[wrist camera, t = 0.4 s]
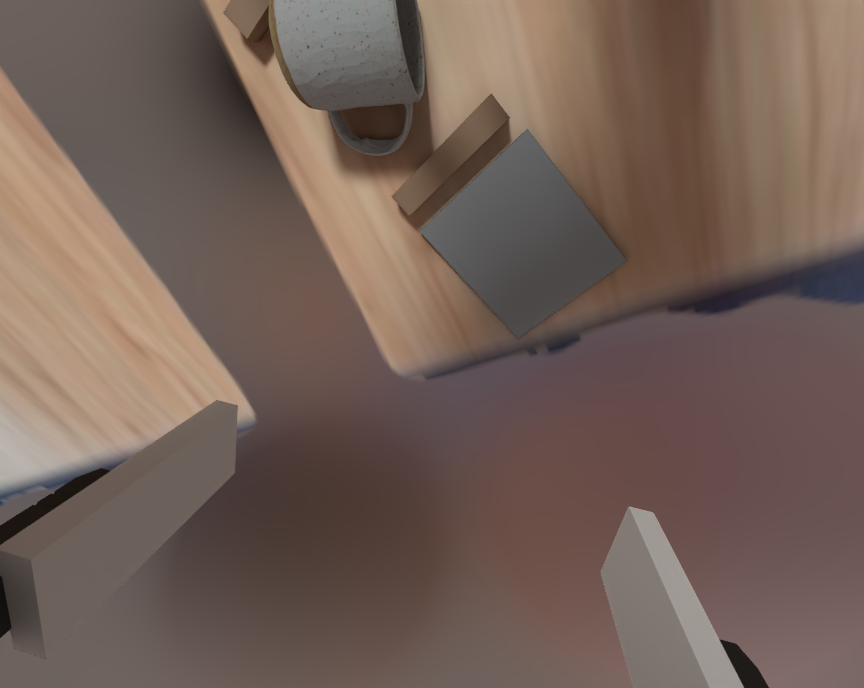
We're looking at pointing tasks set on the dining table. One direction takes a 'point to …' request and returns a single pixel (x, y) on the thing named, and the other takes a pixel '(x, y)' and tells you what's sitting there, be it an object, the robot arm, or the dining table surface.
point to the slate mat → (523, 237)
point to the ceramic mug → (351, 58)
